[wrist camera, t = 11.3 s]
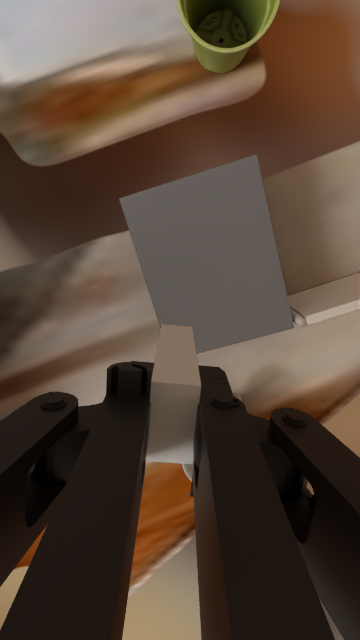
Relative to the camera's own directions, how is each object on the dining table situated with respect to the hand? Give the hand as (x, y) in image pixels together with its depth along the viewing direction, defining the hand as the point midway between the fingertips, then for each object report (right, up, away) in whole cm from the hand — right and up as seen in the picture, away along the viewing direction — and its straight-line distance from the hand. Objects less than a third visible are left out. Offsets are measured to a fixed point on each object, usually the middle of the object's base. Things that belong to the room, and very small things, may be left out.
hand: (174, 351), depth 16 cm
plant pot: (+5, +33, +22) cm, 40 cm away
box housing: (+4, +10, +28) cm, 29 cm away
